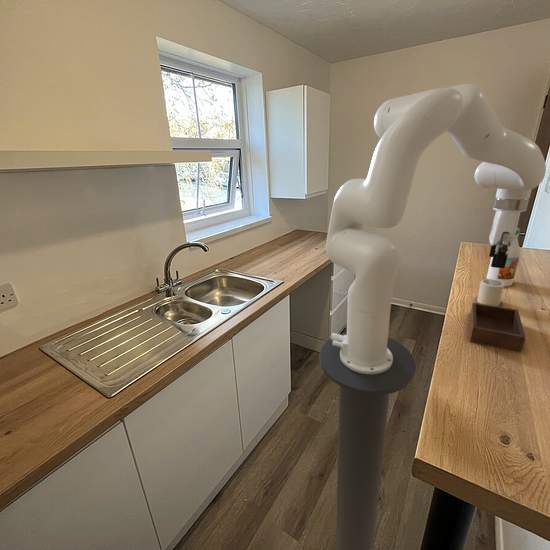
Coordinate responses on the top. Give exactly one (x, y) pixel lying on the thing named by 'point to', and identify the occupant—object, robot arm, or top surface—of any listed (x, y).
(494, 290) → the cream pot
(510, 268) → the milk bottle
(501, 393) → the top surface
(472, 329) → the wooden box
